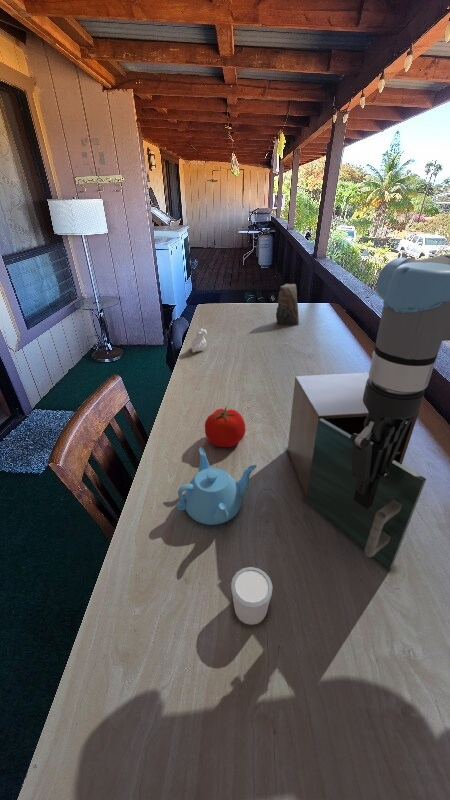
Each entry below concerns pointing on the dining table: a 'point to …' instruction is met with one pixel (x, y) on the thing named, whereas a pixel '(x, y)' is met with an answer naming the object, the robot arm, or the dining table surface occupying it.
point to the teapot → (213, 493)
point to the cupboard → (328, 415)
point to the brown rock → (287, 305)
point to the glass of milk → (251, 594)
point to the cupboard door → (336, 490)
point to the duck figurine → (199, 341)
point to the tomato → (224, 427)
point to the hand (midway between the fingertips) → (362, 502)
